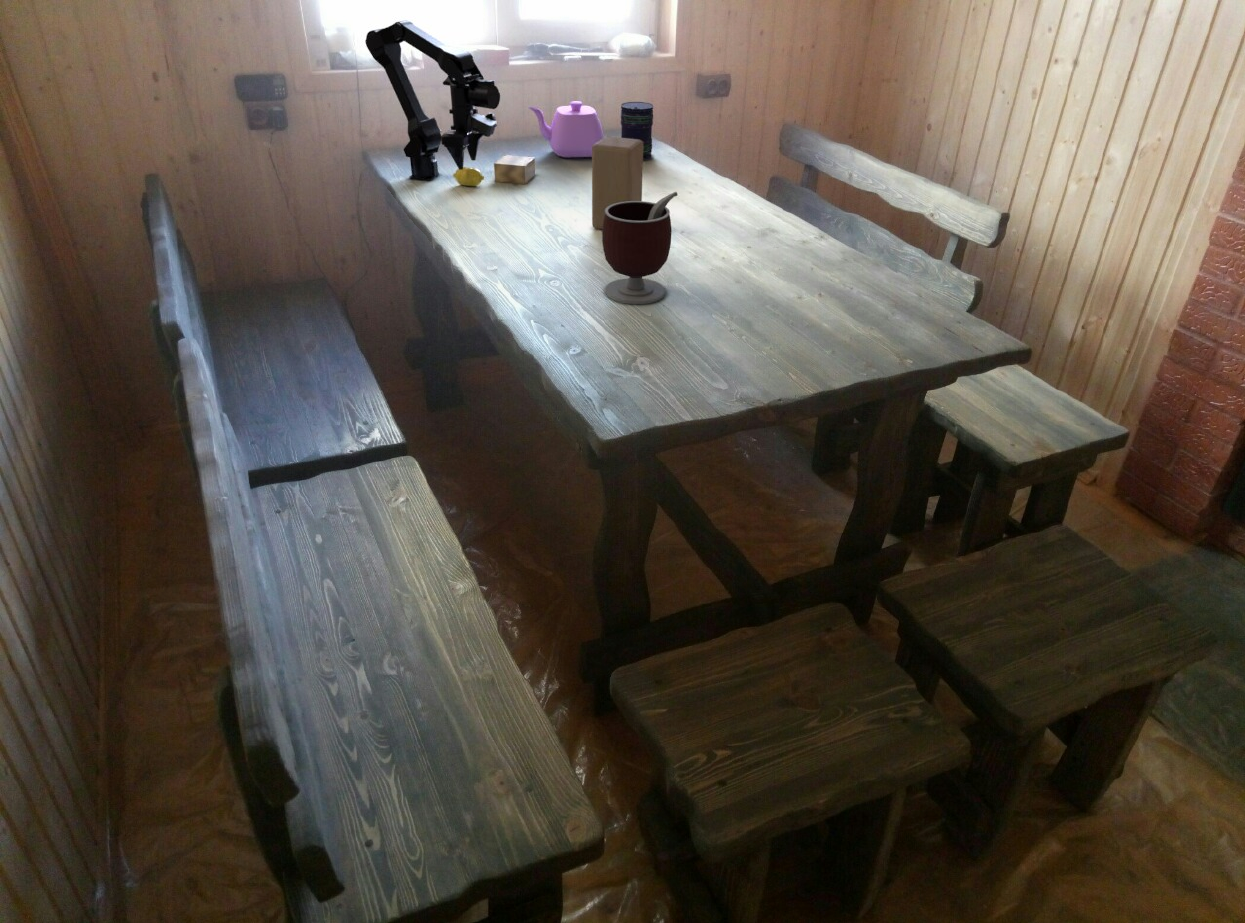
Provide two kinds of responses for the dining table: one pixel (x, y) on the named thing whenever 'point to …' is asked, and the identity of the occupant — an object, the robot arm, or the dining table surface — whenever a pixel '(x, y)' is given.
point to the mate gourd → (637, 248)
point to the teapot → (571, 130)
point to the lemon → (468, 176)
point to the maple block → (514, 169)
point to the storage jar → (638, 124)
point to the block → (615, 174)
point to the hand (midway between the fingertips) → (467, 164)
